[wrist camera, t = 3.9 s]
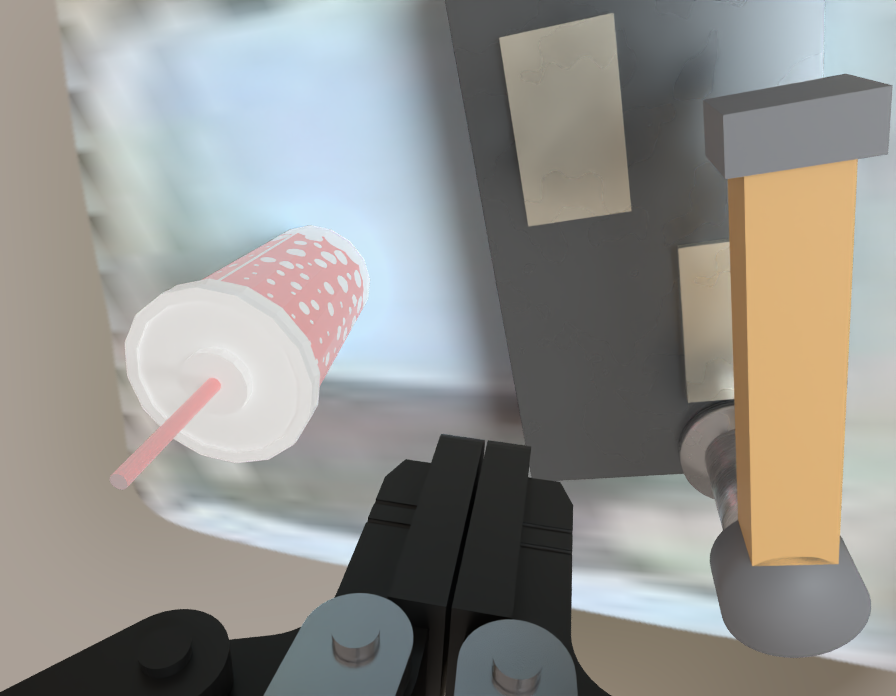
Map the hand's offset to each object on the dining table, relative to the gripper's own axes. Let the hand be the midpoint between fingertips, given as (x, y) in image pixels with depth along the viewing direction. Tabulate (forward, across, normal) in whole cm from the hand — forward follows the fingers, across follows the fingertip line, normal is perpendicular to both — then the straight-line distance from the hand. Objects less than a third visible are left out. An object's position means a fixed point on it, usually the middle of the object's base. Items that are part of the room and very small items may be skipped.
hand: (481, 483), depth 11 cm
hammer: (+7, -7, +1) cm, 10 cm away
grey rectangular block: (+16, -4, -1) cm, 17 cm away
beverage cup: (+17, +9, +4) cm, 19 cm away
